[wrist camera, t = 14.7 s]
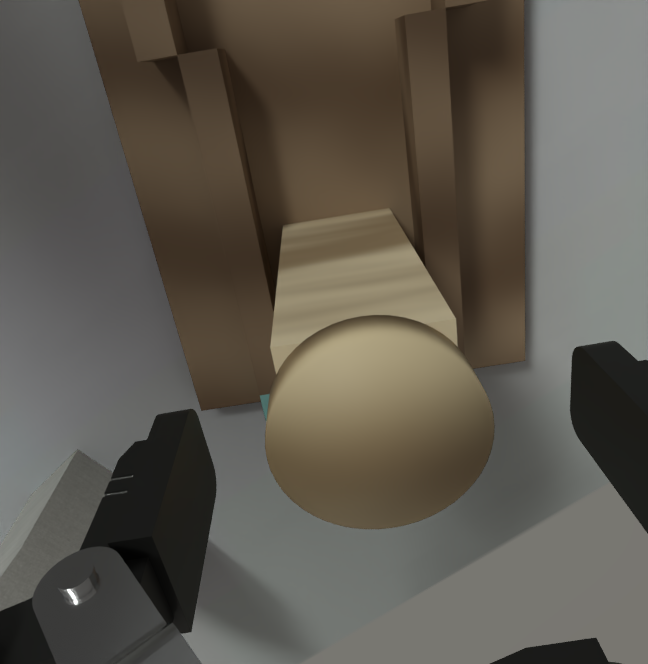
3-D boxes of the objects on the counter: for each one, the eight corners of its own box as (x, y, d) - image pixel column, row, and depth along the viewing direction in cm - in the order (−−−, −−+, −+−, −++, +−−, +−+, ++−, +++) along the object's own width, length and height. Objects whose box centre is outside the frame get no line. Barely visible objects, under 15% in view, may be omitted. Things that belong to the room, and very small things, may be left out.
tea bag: (77, 449, 26) (-38, 650, 17) (190, 524, 29) (139, 737, 20) (32, 493, 28) (-99, 705, 18) (144, 563, 30) (76, 782, 21)
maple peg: (270, 216, 21) (242, 361, 11) (398, 195, 21) (491, 322, 11) (293, 332, 23) (287, 542, 13) (410, 313, 23) (496, 512, 13)
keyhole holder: (-34, -414, 15) (-108, -520, 12) (508, -525, 14) (557, -663, 12) (205, 398, 25) (193, 438, 23) (517, 349, 25) (543, 384, 22)
